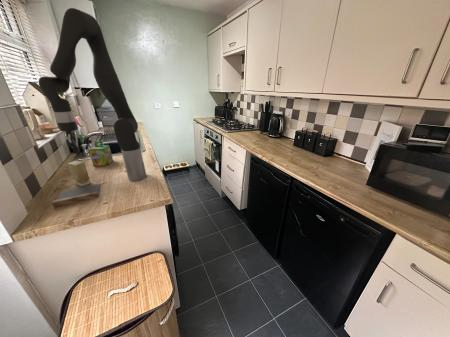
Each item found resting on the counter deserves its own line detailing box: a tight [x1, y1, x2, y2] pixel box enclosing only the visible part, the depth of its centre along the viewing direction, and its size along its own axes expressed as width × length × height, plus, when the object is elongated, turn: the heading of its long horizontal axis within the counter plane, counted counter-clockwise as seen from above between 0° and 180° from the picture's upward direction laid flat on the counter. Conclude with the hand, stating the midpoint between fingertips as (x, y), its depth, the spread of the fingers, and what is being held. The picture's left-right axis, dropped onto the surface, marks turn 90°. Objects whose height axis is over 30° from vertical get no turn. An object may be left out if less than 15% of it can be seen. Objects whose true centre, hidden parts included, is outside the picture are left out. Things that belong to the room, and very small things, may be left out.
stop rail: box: [51, 191, 99, 208], centre depth 81 cm, size 16×2×2 cm, turn 119°
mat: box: [56, 183, 101, 200], centre depth 87 cm, size 16×12×1 cm
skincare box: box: [67, 160, 92, 187], centre depth 94 cm, size 6×4×12 cm
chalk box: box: [88, 141, 114, 167], centre depth 119 cm, size 9×9×15 cm
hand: (77, 153), depth 98 cm, fingers closed
